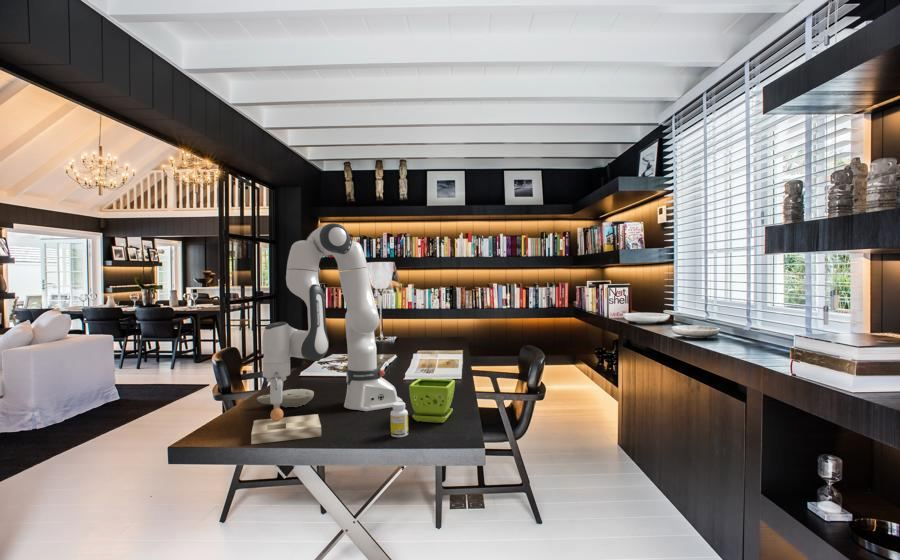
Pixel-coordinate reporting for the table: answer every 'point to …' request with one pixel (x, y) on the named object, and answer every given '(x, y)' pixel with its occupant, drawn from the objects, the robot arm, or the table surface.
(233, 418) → the table surface
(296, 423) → the hole board
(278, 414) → the ball
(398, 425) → the supplement bottle
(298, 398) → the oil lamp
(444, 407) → the flower pot
